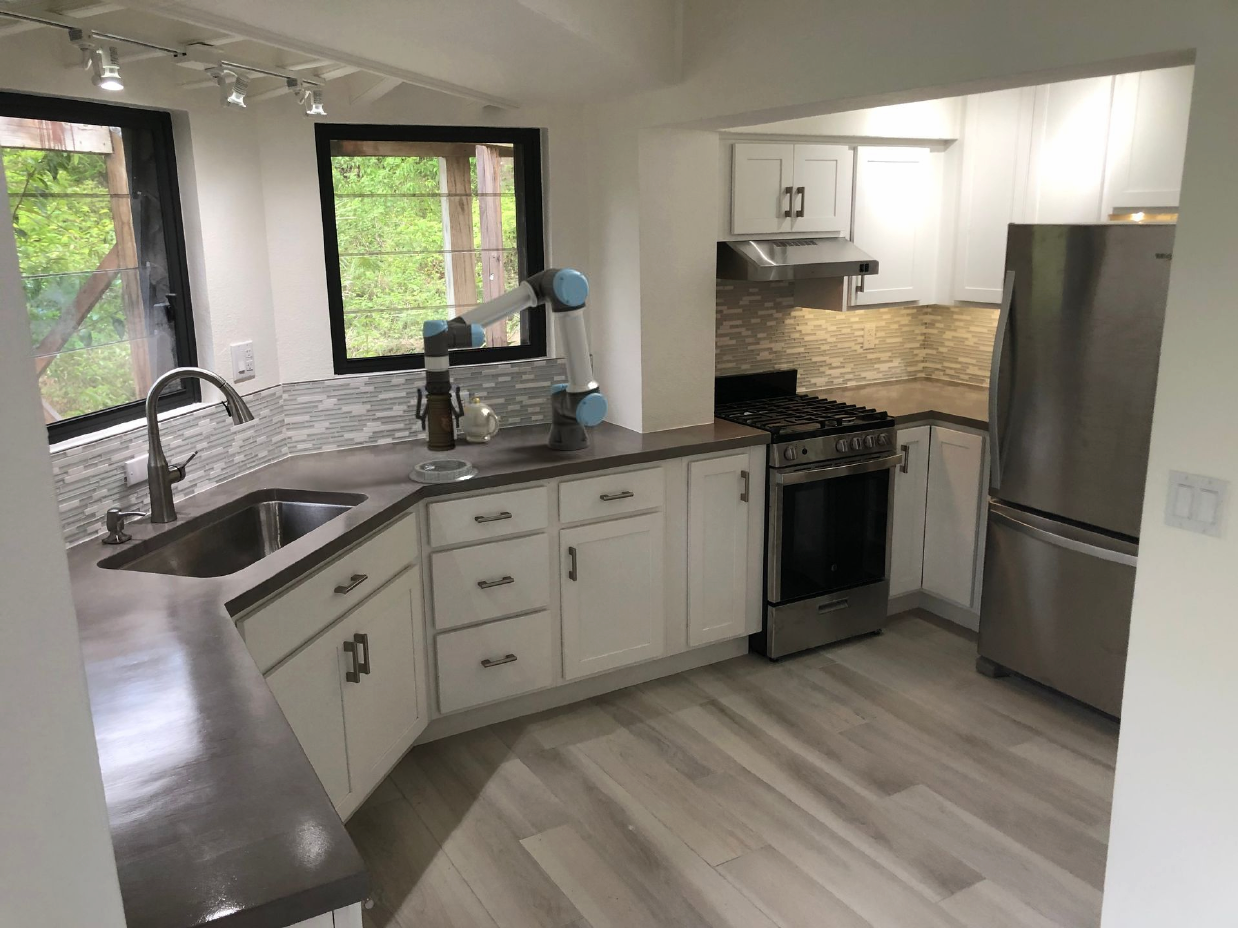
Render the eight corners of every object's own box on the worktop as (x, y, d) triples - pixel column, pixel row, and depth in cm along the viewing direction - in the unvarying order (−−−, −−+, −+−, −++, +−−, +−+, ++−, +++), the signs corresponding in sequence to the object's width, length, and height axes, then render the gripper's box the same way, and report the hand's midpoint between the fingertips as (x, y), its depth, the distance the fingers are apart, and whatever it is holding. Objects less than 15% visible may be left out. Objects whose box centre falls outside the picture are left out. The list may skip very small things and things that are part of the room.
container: (423, 451, 311) (419, 396, 306) (434, 445, 319) (430, 391, 315) (449, 452, 309) (446, 396, 305) (459, 446, 318) (456, 392, 313)
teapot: (451, 441, 364) (448, 398, 360) (476, 435, 375) (474, 393, 371) (486, 447, 354) (484, 403, 350) (511, 440, 364) (509, 397, 360)
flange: (472, 464, 330) (472, 455, 329) (482, 480, 309) (481, 471, 308) (407, 469, 324) (406, 460, 323) (412, 486, 303) (411, 476, 303)
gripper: (468, 366, 314) (472, 434, 320) (402, 369, 309) (407, 438, 314) (471, 369, 307) (475, 439, 313) (404, 372, 302) (409, 443, 307)
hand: (441, 438), depth 313 cm, fingers closed on container, 8 cm apart
